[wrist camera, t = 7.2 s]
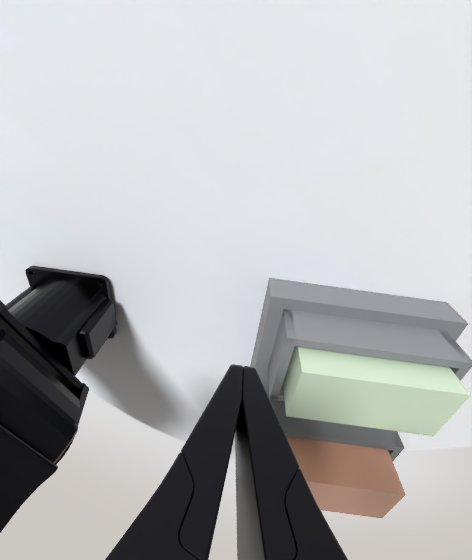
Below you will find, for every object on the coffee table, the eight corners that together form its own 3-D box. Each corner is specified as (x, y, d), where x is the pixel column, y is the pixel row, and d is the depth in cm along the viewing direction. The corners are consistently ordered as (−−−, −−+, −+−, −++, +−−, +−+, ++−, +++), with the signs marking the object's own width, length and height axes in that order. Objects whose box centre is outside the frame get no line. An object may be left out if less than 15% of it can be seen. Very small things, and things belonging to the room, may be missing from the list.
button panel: (240, 414, 31) (236, 468, 26) (269, 278, 21) (272, 324, 17) (363, 431, 31) (382, 488, 26) (447, 302, 21) (500, 355, 17)
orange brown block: (260, 450, 26) (261, 502, 22) (269, 424, 24) (271, 476, 20) (365, 464, 26) (381, 518, 22) (383, 439, 24) (405, 494, 20)
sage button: (281, 368, 22) (286, 416, 18) (294, 326, 19) (302, 372, 16) (406, 385, 22) (433, 436, 18) (433, 345, 19) (470, 395, 16)
